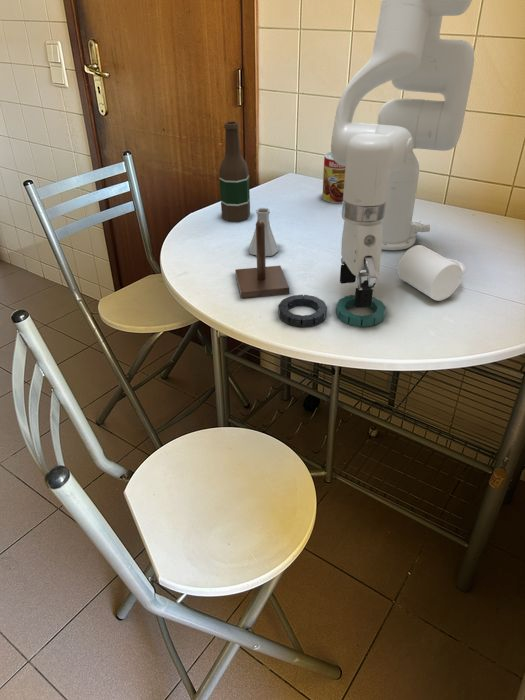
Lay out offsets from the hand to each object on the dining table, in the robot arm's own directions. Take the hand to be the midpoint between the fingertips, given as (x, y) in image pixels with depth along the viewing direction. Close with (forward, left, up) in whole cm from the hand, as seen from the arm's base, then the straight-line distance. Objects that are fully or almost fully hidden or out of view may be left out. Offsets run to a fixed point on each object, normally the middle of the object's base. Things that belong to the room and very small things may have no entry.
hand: (354, 294), depth 103 cm
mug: (-18, -4, -3) cm, 19 cm away
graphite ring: (+11, +1, -3) cm, 11 cm away
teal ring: (0, +3, -3) cm, 4 cm away
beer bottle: (+18, -50, -3) cm, 53 cm away
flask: (+14, -28, -3) cm, 31 cm away
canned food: (-12, -58, -3) cm, 59 cm away
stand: (+17, -12, -3) cm, 21 cm away
